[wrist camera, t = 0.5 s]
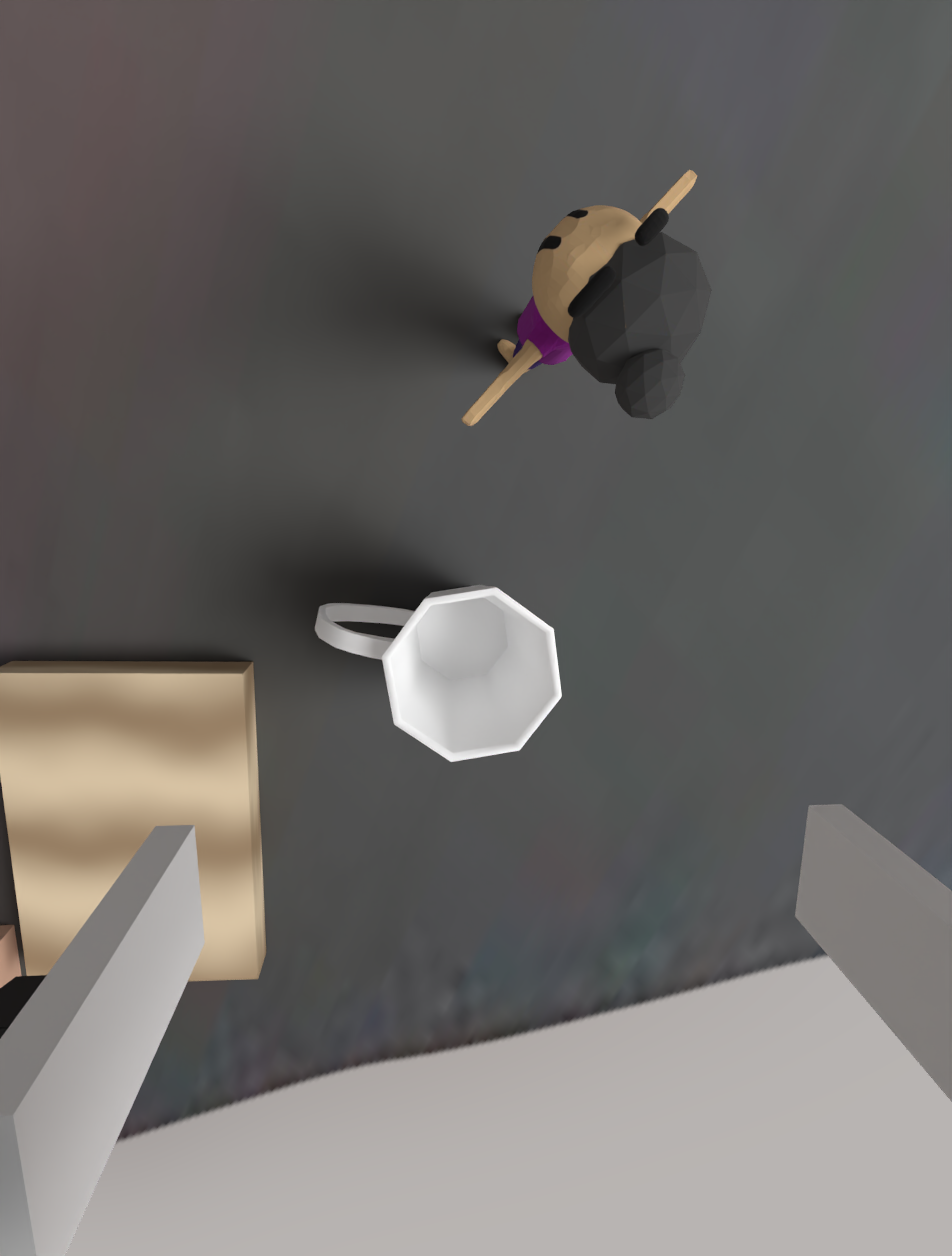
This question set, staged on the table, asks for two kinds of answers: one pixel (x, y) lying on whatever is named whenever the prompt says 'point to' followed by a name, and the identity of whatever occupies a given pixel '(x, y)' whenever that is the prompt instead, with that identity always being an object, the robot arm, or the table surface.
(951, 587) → the table surface
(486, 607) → the cup
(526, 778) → the table surface
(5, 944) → the terracotta brick
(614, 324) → the toy
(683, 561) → the table surface
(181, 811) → the oak board
